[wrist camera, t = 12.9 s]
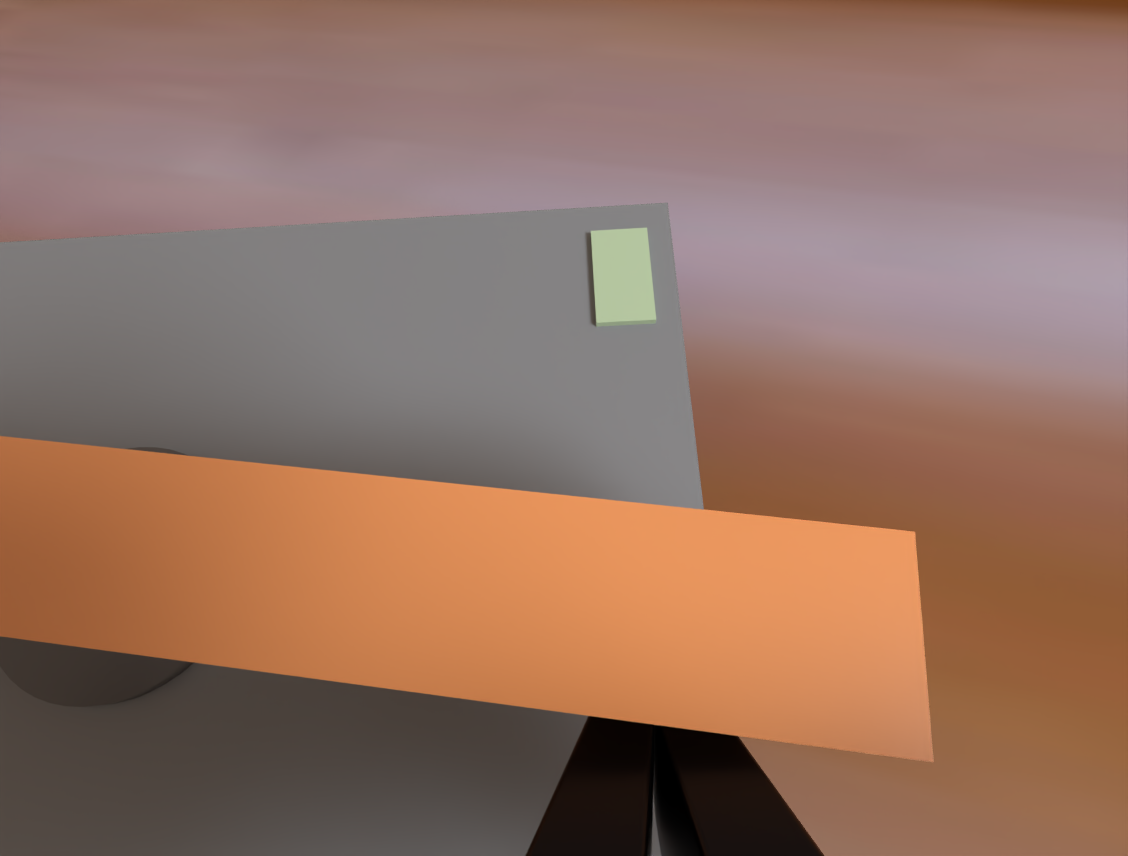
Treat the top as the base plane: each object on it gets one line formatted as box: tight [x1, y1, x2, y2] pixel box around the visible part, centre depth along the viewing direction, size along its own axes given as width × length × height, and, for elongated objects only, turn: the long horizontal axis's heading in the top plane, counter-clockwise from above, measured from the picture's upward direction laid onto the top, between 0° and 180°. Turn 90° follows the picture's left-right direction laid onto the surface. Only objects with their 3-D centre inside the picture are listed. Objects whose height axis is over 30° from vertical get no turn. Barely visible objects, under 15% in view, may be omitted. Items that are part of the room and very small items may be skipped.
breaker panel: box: [0, 203, 704, 856], centre depth 16 cm, size 20×28×3 cm
